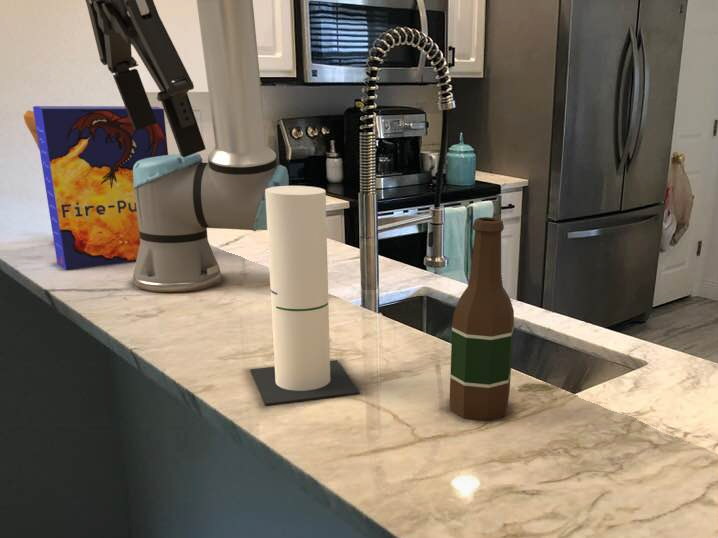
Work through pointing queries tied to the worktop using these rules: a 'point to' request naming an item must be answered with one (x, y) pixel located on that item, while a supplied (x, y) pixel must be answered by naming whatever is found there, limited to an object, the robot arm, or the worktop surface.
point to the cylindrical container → (299, 286)
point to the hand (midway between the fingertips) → (168, 139)
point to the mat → (277, 395)
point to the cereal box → (94, 180)
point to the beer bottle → (482, 332)
